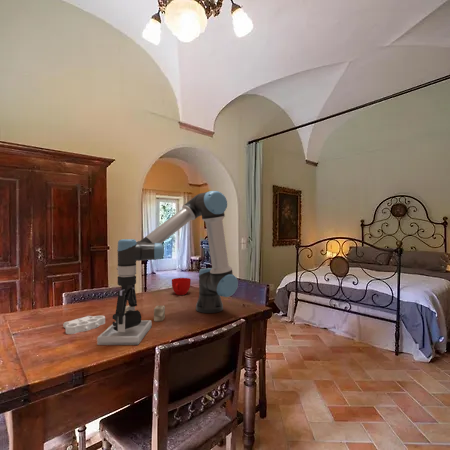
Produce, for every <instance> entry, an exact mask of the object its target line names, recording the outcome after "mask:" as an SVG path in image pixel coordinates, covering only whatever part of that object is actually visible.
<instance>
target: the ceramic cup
mask: <svg viewBox="0 0 450 450" xmlns="http://www.w3.org/2000/svg"><path fill="white" fill-rule="evenodd" d="M191 280H192V279H191V278H189V277H175V278H173V279H171V288H172V290H173V292H174V293H175V295H177V296H185V295H186V294H188V292H189V290H190V287H191V284H192V283H191V282H192V281H191Z"/></svg>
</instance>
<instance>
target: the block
mask: <svg viewBox="0 0 450 450" xmlns="http://www.w3.org/2000/svg"><path fill="white" fill-rule="evenodd" d="M165 311H166V307H165V305H156V306H155V307H154V309H153V321H154V322H163V320H165V317H166V314H165V313H166V312H165Z"/></svg>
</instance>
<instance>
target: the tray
mask: <svg viewBox="0 0 450 450" xmlns="http://www.w3.org/2000/svg"><path fill="white" fill-rule="evenodd" d="M152 325H153V324H152V320H150V319H149V320H147V319H146V320H145V319H144V320H142V319H141V323H140V324H139V325H138V326H134V327H131V328H128V329H125V332H118V331H116V330H114V329H113V327H115V326H113V324H112V323H111V325H109V326H108V327H107V329H105V330H104V331H103V332H101V333H100V334H99V335H98V336H97V337H96V338H97V339H96V341H97V343H96V345H97V346H138V345H139V344H140V343H141V342H142V340H143V339H144V338H145V336H146V335H147V334H148V333H149V331H150V330H151V329H152V328H153V327H152Z"/></svg>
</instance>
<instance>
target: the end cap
mask: <svg viewBox="0 0 450 450" xmlns="http://www.w3.org/2000/svg"><path fill="white" fill-rule="evenodd" d="M124 315H125V329H128V328H131V327H134V326H138V325H139V324H140V323H141V320H142V314H141V312H140V310H138V309H135V311H132V310H129V311H126V313H124ZM112 319H113V320H114V321H112V323H111V325H112V324H113V326H115V327H113V329H114V330H116V331H118V316H115V313H114V314H112Z"/></svg>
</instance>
